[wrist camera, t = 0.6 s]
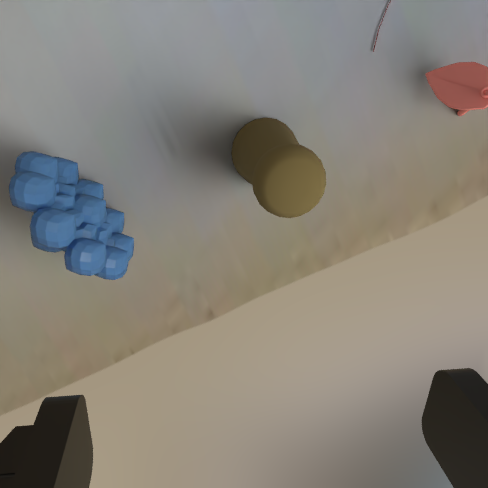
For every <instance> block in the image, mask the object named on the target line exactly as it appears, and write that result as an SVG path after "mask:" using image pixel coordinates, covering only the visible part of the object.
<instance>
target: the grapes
mask: <svg viewBox="0 0 488 488" xmlns="http://www.w3.org/2000/svg"><path fill="white" fill-rule="evenodd" d="M15 172H16V174H15V175H14V176H13V177H12V178H11V181H10V186H9V193H10V199H11V202H12V205H13V206H16V207H18V208H21V209H23V210H26V211H30V212H33V213H34V215H33V216H32V219H31V224H30V231H31V239H32V243H33V246H34V247H36V248H38V249H41V250H43V251H47V252H59V251H62V250H63V251H65V255H64V257H65V265H66V269H68V270H69V271H71V272H74V273H77V274H79V275H87V276H91V275H96V276H98V277H101V278H103V279H109V280H115V279H118V278H121V277H123V275H124V274H125V273H126V271H127V267H128V262H129V260H130V259H131V257H132V255H133V250H134V238H132V237H129V236H127V235H124V234H121V233H122V231H123V227H124V213H123V212H120V211H117V210H115V209H111V208H106V201H105V200H103V198H104V193H103V185H102V184H99V183H97V182H94V181H90V180H86V179H80V180H78V178H79V174H78V165H77V163H75V162H73V161H70V160H67V159H63V158H59V157H51V156H49V155H46V154H42V153H38V152H34V151H32V152H23V153H22V154H21V155H19V156H18V157H17V160H16V164H15Z"/></svg>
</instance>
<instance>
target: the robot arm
mask: <svg viewBox="0 0 488 488" xmlns="http://www.w3.org/2000/svg"><path fill="white" fill-rule="evenodd" d="M422 430H423V434H424V438H425V440H426V443H427V445H428V446H429V448H430V450H431V451H432V453H433V455H434V456H435V458H436V460H437V461H438V462H439V464H440V466H441V468H442V469H443V471H444V472H445V474H446V476H447V477H448V479H449V481H450V482H451V484H452V485H453V487H454V488H488V384H487V383H486V382H485V381H484V379H483V378H482V377H481V376H480V375H479V374H478V373H477V372H476V371H474V370H473V369H470V368H465V369H451V370H439V371H437V372H436V373H435V375H434V377H433V380H432V384H431V388H430V391H429V395H428V398H427V402H426V405H425V409H424V412H423V416H422ZM92 464H93V445H92V438H91V432H90V427H89V421H88V413H87V407H86V401H85V398H84V396H83V395H74V396H59V397H46V398H45V399H44V401H43V402H42V404H41V406H40V409H39V412H38V415H37V417H36V420H35V422H34V425H29V426H17V427H15V428H14V429H13V430H12V431H11V432H10V433H9V434H8V435H7V437H6V438H5V439H4V440H3V441H2V442H1V443H0V488H89V484H90V480H91V474H92Z"/></svg>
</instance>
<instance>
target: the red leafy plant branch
mask: <svg viewBox="0 0 488 488" xmlns="http://www.w3.org/2000/svg"><path fill="white" fill-rule="evenodd" d="M390 2H391V0H390ZM390 2H389V3H390ZM388 5H389V4H388ZM387 8H388V6H387ZM387 8H386V10H387ZM385 13H386V11H385ZM384 15H385V14H384ZM383 18H384V16H383ZM382 20H383V19H382ZM381 23H382V21H381ZM380 26H381V24H380ZM380 26H379V28H380ZM378 32H379V29H378ZM377 36H378V33H377ZM376 40H377V37H376ZM375 44H376V41H375ZM374 48H375V45H374ZM373 52H374V49H373ZM425 75H426V77H427V80H428V83H429V84H430V86H431V88H432V90H433V91H434V93H435V95H436V96H437V98H438V99H439V100H440V101H442V102H443V103H444V104H446V105H447V106H448V107H450V108H454V109H458V110H459V111H458V113H457V114H458V116H462V115H464V114H465V113H466V112H468V111H469V110H475V109H485V108H486V107H488V67H486V66H484V65H481V64H478V63H476V62H459V63H455V64H451V65H448V66H445V67H441V68H438V69H435V70H433V71H430V72H428V73H426V74H425Z"/></svg>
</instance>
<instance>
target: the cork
mask: <svg viewBox="0 0 488 488" xmlns="http://www.w3.org/2000/svg"><path fill="white" fill-rule="evenodd" d="M231 154H232V160H233V164H234V166H235V168H236V170H237V172H238V173H239V174H240V175H241V176H242V177H243V178H244V179H245V180H247V181H248V182H249V183H250V184H252V185H253V191H254V194H255V196H256V198H257V200H258V202H259V204H260V205H261V206H262V207H263V208H264V209H265V210H267V211H268V212H270V213H272V214H274V215H276V216H279V217H285V218H292V217H297V216H301V215H303V214H305V213H307V212H309V211H310V210H311V209H313V208H314V207H315V206H316V205H317V204H318V202H319V201H320V199H321V197H322V196H323V194H324V190H325V186H326V173H325V169H324V167H323V165H322V162H321V160H320V159H319V158H318V157H317V156H316V154H315V153H314V152H313V151H311V150H309V149H308V148H306V147H304V146H302V145H299V143H298V141H297V140H296V138H295V136H294V134H293V132H292V131H291V130H290V129H289V128H288V126H287V125H286V124H284V123H282V122H281V121H279V120H277V119H272V118H260V119H255V120H253V121H251V122H249V123H248V124H246V125H245V126H244V127H243V128H242V129H241V130H240V131H239V132H238V133H237V135H236V137H235V139H234V141H233V146H232V152H231Z"/></svg>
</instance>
